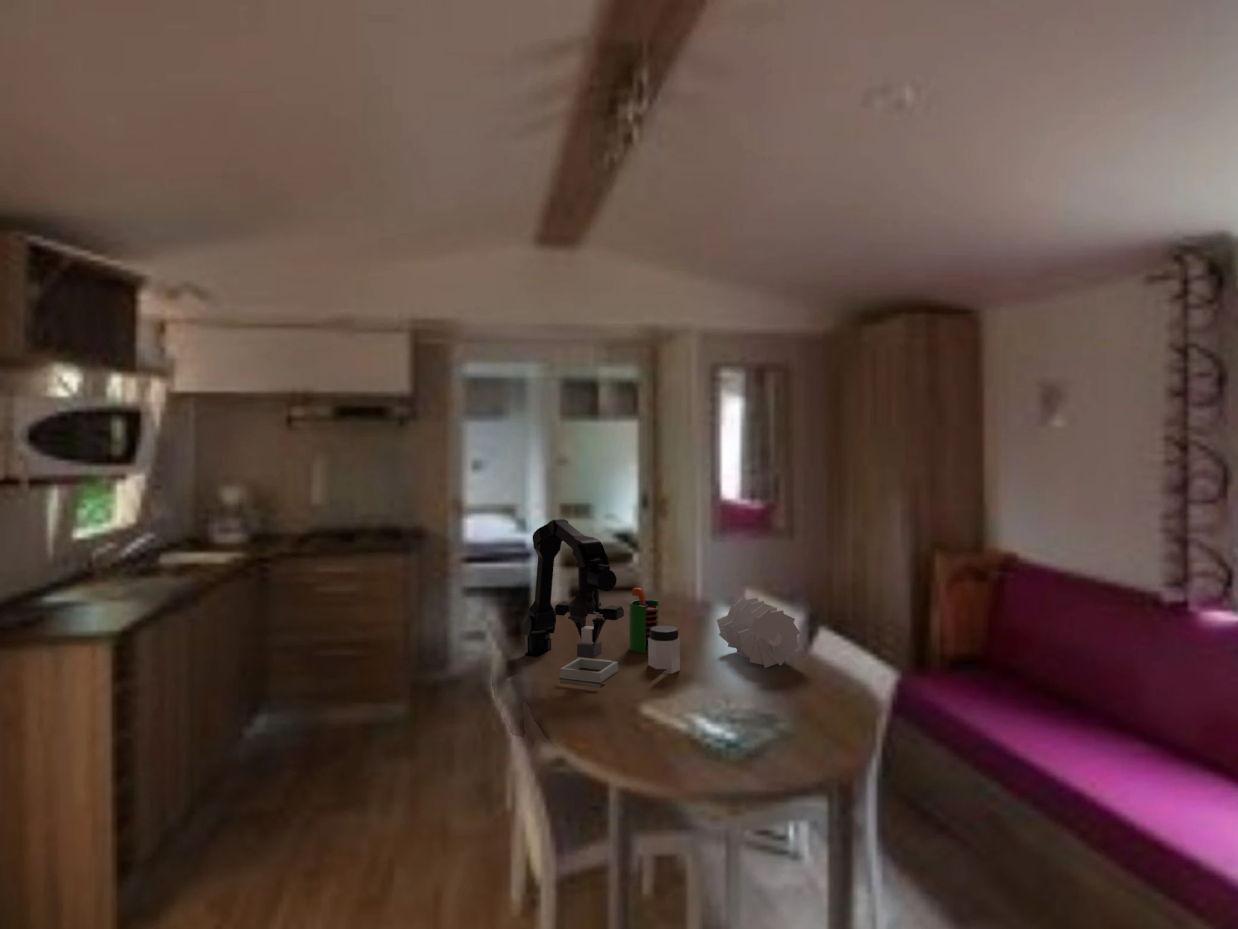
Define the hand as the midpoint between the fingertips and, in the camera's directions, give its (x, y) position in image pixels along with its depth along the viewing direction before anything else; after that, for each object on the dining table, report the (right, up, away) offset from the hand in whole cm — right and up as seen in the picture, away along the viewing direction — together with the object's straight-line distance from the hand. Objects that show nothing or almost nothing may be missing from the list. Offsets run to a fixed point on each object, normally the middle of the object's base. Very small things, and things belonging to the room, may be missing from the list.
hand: (589, 641), depth 238 cm
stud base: (+3, -10, +13) cm, 17 cm away
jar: (+21, -10, +9) cm, 25 cm away
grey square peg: (0, -4, 0) cm, 4 cm away
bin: (0, -11, 0) cm, 11 cm away
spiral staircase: (+49, -10, +20) cm, 54 cm away
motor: (+16, -9, +27) cm, 33 cm away
